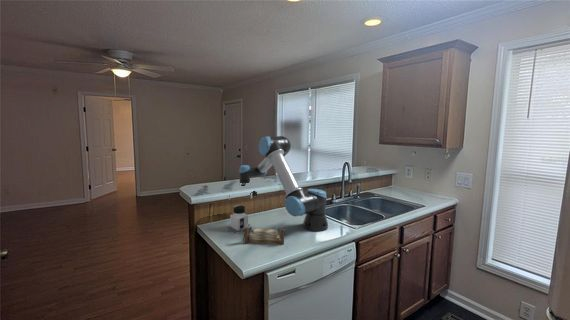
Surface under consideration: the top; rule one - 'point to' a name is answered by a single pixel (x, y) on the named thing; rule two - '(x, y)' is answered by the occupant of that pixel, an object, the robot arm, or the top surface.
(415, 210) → the top surface
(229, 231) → the rubber mat
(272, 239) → the offcut stack
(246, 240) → the walnut rack
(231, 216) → the container
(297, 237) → the top surface
